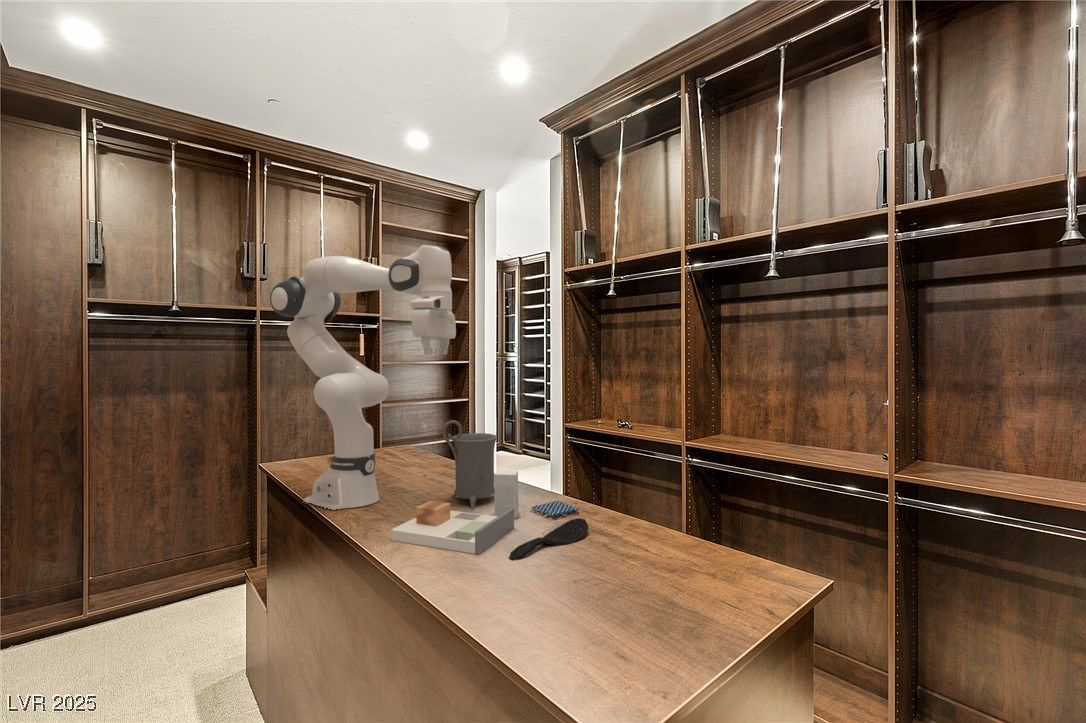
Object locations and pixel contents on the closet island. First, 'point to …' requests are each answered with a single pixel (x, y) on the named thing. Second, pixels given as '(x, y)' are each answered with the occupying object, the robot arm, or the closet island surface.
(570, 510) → the woven mat
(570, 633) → the closet island surface
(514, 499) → the skincare box
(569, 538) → the hairbrush
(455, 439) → the mug
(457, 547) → the trap deck
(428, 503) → the block
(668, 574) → the closet island surface
